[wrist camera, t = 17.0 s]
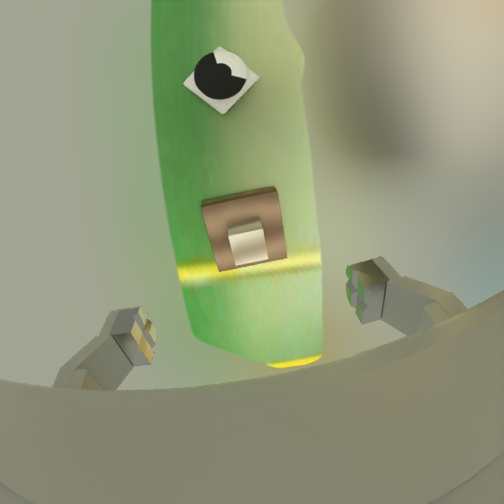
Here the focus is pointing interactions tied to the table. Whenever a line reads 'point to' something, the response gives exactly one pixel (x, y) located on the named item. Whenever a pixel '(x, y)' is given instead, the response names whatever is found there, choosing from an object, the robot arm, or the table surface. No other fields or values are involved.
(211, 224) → the walnut base
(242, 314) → the table surface
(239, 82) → the medicine bottle
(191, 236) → the table surface
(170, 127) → the table surface
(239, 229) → the ash cube
